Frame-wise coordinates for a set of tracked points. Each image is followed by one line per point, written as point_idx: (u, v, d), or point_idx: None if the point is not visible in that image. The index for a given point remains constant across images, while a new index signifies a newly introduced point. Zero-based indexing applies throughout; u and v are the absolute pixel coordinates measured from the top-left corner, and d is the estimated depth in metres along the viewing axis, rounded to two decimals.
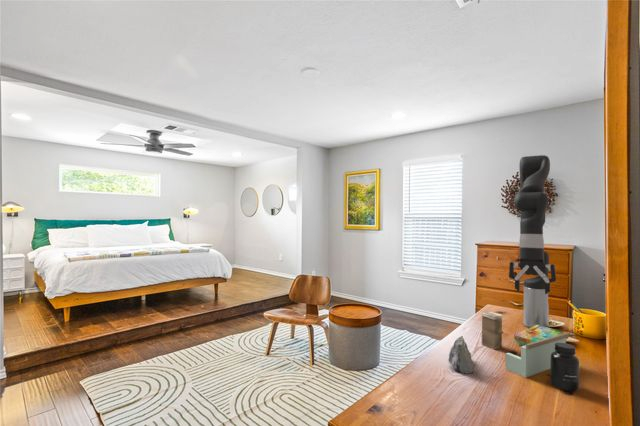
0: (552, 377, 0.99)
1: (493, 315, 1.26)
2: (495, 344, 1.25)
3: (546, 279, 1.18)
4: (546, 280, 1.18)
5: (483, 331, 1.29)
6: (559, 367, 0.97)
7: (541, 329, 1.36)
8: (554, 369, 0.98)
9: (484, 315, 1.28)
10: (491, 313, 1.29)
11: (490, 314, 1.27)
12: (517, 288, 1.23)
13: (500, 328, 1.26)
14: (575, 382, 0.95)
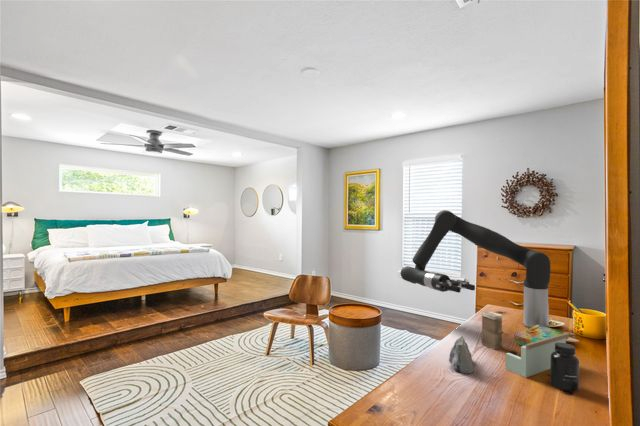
0: (552, 377, 0.99)
1: (493, 315, 1.26)
2: (495, 344, 1.25)
3: None
4: None
5: (483, 331, 1.29)
6: (559, 367, 0.97)
7: (541, 329, 1.36)
8: (554, 369, 0.98)
9: (484, 315, 1.28)
10: (491, 313, 1.29)
11: (490, 314, 1.27)
12: None
13: (500, 328, 1.26)
14: (575, 382, 0.95)
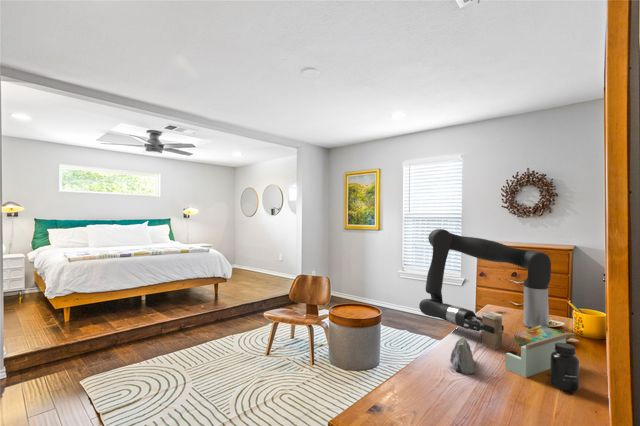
0: (552, 377, 0.99)
1: (493, 315, 1.26)
2: (495, 344, 1.25)
3: None
4: None
5: (483, 331, 1.29)
6: (559, 367, 0.97)
7: (543, 329, 1.36)
8: (554, 369, 0.98)
9: (484, 315, 1.28)
10: (491, 313, 1.29)
11: (490, 314, 1.27)
12: None
13: (500, 328, 1.26)
14: (575, 382, 0.95)
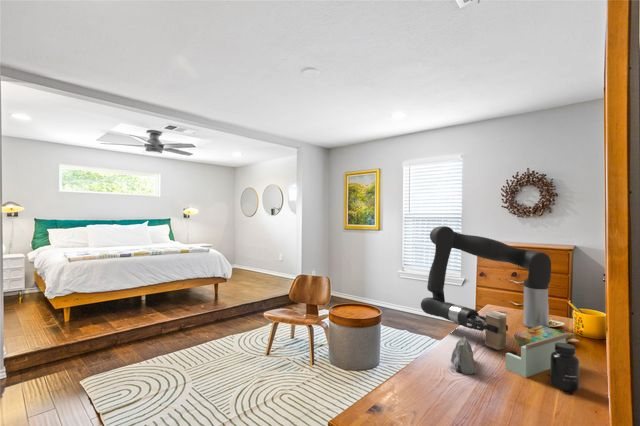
0: (552, 377, 0.99)
1: (497, 314, 1.23)
2: (499, 344, 1.22)
3: None
4: None
5: (487, 331, 1.25)
6: (559, 367, 0.97)
7: (544, 329, 1.36)
8: (554, 369, 0.98)
9: (488, 314, 1.24)
10: (495, 312, 1.25)
11: (494, 313, 1.24)
12: None
13: (504, 328, 1.23)
14: (575, 382, 0.95)
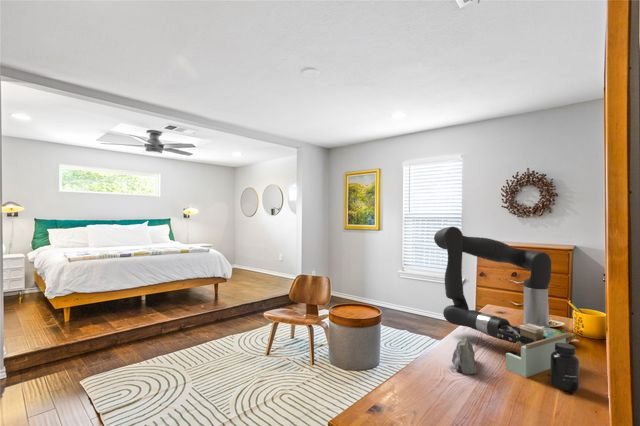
0: (552, 377, 0.99)
1: (534, 328, 1.11)
2: None
3: None
4: None
5: None
6: (559, 367, 0.97)
7: (546, 330, 1.35)
8: (554, 369, 0.98)
9: (523, 328, 1.13)
10: (530, 325, 1.14)
11: (530, 327, 1.12)
12: None
13: None
14: (575, 382, 0.95)
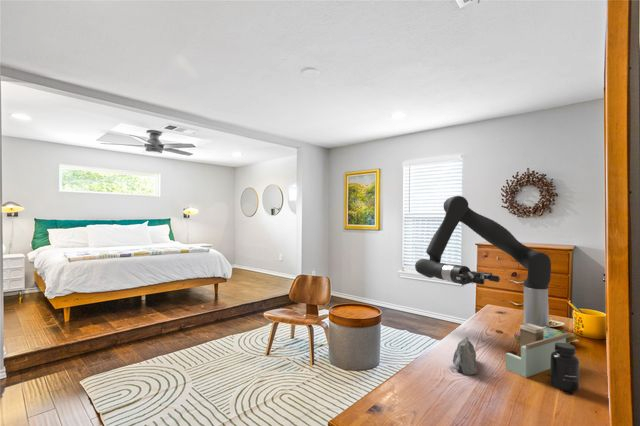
0: (552, 377, 0.99)
1: (534, 328, 1.11)
2: None
3: (471, 282, 1.28)
4: None
5: None
6: (559, 367, 0.97)
7: (547, 330, 1.35)
8: (554, 369, 0.98)
9: (523, 328, 1.13)
10: (530, 325, 1.14)
11: (530, 327, 1.12)
12: (496, 281, 1.29)
13: None
14: (575, 382, 0.95)
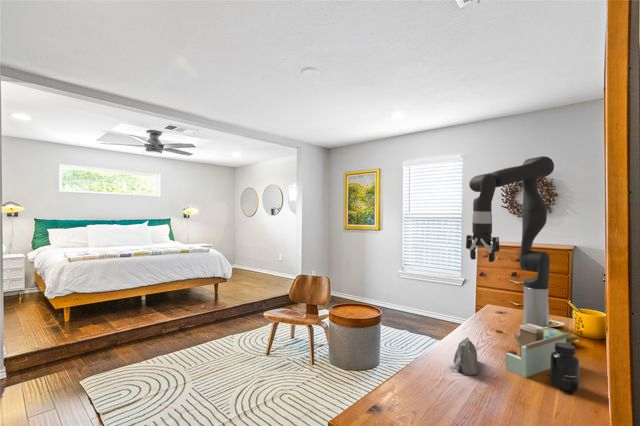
0: (552, 377, 0.99)
1: (534, 328, 1.11)
2: None
3: (489, 249, 1.39)
4: (489, 250, 1.38)
5: None
6: (559, 367, 0.97)
7: (548, 330, 1.35)
8: (554, 369, 0.98)
9: (523, 328, 1.13)
10: (530, 325, 1.14)
11: (530, 327, 1.12)
12: (471, 257, 1.46)
13: None
14: (575, 382, 0.95)
